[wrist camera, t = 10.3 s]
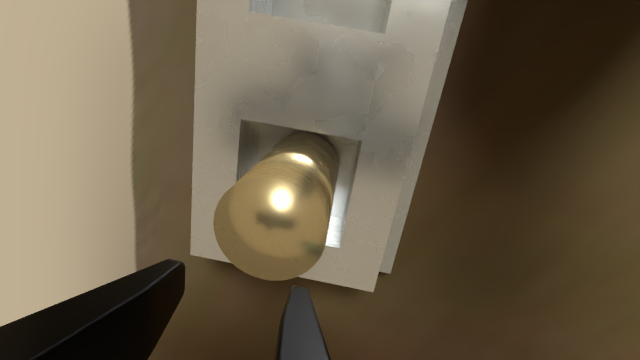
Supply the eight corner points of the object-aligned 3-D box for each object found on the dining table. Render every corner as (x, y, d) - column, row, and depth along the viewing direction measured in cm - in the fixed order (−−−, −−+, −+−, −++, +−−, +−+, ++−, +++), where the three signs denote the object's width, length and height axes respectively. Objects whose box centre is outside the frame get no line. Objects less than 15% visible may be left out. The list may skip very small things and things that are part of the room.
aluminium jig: (507, -160, 14) (574, -264, 9) (388, 264, 21) (396, 313, 17) (217, -199, 14) (160, -312, 10) (201, 226, 22) (164, 264, 17)
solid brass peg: (344, 139, 18) (336, 189, 10) (332, 204, 19) (316, 290, 12) (275, 126, 18) (216, 166, 10) (267, 191, 19) (210, 268, 12)
